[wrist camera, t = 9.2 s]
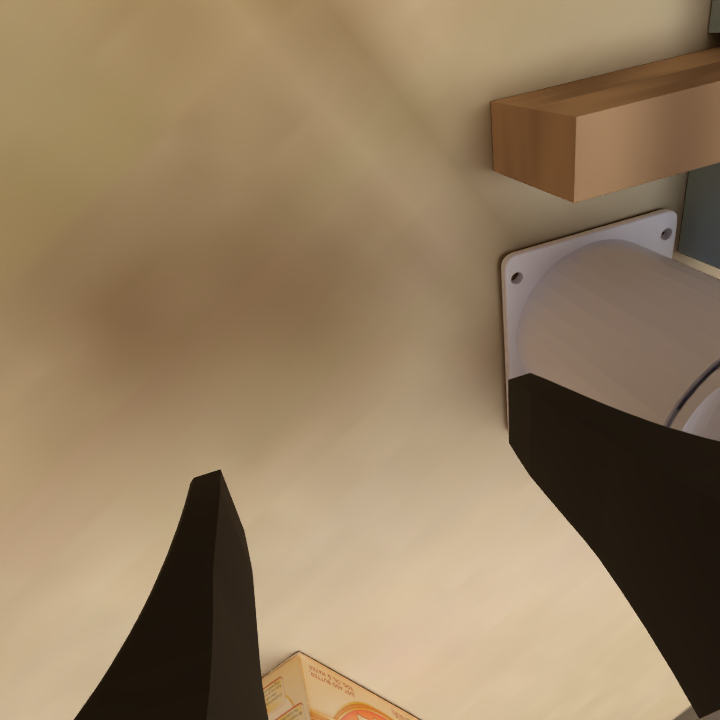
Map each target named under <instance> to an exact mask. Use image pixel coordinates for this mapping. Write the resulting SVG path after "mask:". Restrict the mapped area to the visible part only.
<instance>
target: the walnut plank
mask: <svg viewBox="0 0 720 720" xmlns="http://www.w3.org/2000/svg"><path fill="white" fill-rule="evenodd" d="M491 119H492V141H493V163H494V171H495V172H498V173H500V174H503V175H505V176H508V177H510V178H513V179H515V180H518V181H520V182H523V183H525V184H528V185H530V186H533V187H535V188H538V189H540V190H543V191H545V192H548V193H550V194H553V195H555V196H558V197H560V198H563V199H566V200H568V201H571V202H573V203H575V202H579V201H582V200H586V199H590V198H593V197H597V196H600V195H604V194H608V193H611V192H615V191H618V190H622V189H626V188H629V187H633V186H636V185H640V184H644V183H647V182H651V181H654V180H658V179H662V178H665V177H669V176H672V175H676V174H680V173H683V172H687V171H690V170H694V169H698V168H701V167H705V166H708V165H712V164H716V163H719V162H720V46H719V47H715V48H711V49H707V50H702V51H698V52H694V53H690V54H686V55H682V56H678V57H673V58H669V59H665V60H661V61H657V62H653V63H649V64H644V65H640V66H636V67H632V68H628V69H624V70H620V71H615V72H611V73H607V74H603V75H599V76H595V77H591V78H586V79H582V80H578V81H574V82H570V83H566V84H562V85H557V86H553V87H549V88H545V89H541V90H537V91H533V92H529V93H524V94H520V95H516V96H512V97H508V98H504V99H500V100H495V101H491Z"/></svg>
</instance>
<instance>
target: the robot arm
mask: <svg viewBox="0 0 720 720" xmlns="http://www.w3.org/2000/svg"><path fill="white" fill-rule="evenodd" d="M676 226H677V214H676V212H674V211H672V210H669V209H662V210H658V211H655V212H651V213H648V214H644V215H641V216H637V217H634V218H630V219H627V220H623V221H620V222H616V223H613V224H609V225H606V226H602V227H599V228H596V229H592V230H589V231H585V232H582V233H578V234H575V235H571V236H568V237H564V238H561V239H557V240H554V241H550V242H547V243H543V244H540V245H536V246H533V247H529V248H526V249H522V250H519V251H515V252H512V253H510V254H508V255H507V256H506V257H505V258H504V259H503V261H502V265H501V276H502V299H503V323H504V346H505V370H506V393H507V417H508V431H509V444H510V445H511V447H512V448H513V450H514V452H515V453H516V455H517V457H518V458H519V460H520V461H521V463H522V464H523V466H524V467H525V469H526V470H527V472H528V473H529V475H530V476H531V478H532V479H533V480H534V481H535V482H536V484H537V485H538V486H539V487H540V488H541V490H542V491H543V492H544V493H545V494H546V496H547V497H548V498H549V499H550V500H551V502H552V503H553V504H554V505H555V506H556V507H557V509H558V510H559V511H560V512H561V513H562V514H563V516H564V517H565V518H566V519H567V520H568V521H569V523H570V524H571V525H572V526H573V527H574V528H575V530H576V531H577V532H578V533H579V534H580V535H581V537H582V538H583V539H584V540H585V541H586V543H587V544H588V545H589V546H590V548H591V549H592V550H593V551H594V553H595V554H596V555H597V557H598V558H599V559H600V561H601V562H602V564H603V565H604V566H605V568H606V569H607V571H608V572H609V574H610V575H611V577H612V578H613V580H614V581H615V582H616V584H617V585H618V587H619V588H620V590H621V591H622V593H623V594H624V596H625V597H626V599H627V600H628V602H629V603H630V605H631V606H632V608H633V609H634V611H635V613H636V614H637V616H638V617H639V619H640V620H641V622H642V623H643V625H644V626H645V628H646V629H647V631H648V633H649V634H650V636H651V638H652V639H653V641H654V643H655V644H656V646H657V647H658V649H659V651H660V652H661V654H662V656H663V657H664V659H665V660H666V662H667V664H668V665H669V667H670V669H671V670H672V672H673V674H674V675H675V677H676V679H677V681H678V682H679V684H680V686H681V688H682V689H683V691H684V693H685V695H686V696H687V698H688V700H689V701H690V703H691V705H692V707H693V708H694V710H695V712H696V714H697V715H698V717H699V719H698V720H720V280H719V279H717V278H715V277H712V276H710V275H708V274H705V273H703V272H701V271H698V270H696V269H694V268H691V267H689V266H687V265H684V264H682V263H680V262H678V261H675V260H673V259H672V257H673V249H674V241H675V234H676ZM664 230H665V232H664V234H663V235H662V236H661V234H662V232H663V231H664ZM516 272H518V276H517V277H516V279H515V280H513V281H511V278H512V276H513V274H515V273H516ZM74 720H268V714H267V708H266V703H265V697H264V691H263V685H262V677H261V669H260V659H259V646H258V634H257V621H256V608H255V596H254V584H253V573H252V567H251V562H250V557H249V552H248V547H247V542H246V537H245V532H244V529H243V526H242V524H241V521H240V519H239V516H238V513H237V511H236V508H235V506H234V503H233V500H232V498H231V495H230V493H229V490H228V487H227V485H226V482H225V480H224V477H223V474H222V472H221V470H217V471H214V472H211V473H208V474H205V475H201V476H198V477H195V478H193V480H192V482H191V483H190V487H189V491H188V495H187V498H186V502H185V505H184V508H183V512H182V515H181V518H180V521H179V524H178V527H177V530H176V532H175V535H174V538H173V540H172V543H171V546H170V548H169V551H168V554H167V556H166V559H165V561H164V564H163V566H162V568H161V570H160V573H159V575H158V577H157V580H156V582H155V584H154V586H153V589H152V591H151V593H150V595H149V597H148V599H147V601H146V603H145V605H144V607H143V609H142V611H141V613H140V615H139V617H138V619H137V621H136V623H135V624H134V626H133V628H132V630H131V632H130V634H129V635H128V637H127V639H126V641H125V642H124V644H123V646H122V647H121V649H120V651H119V652H118V654H117V656H116V657H115V659H114V661H113V662H112V664H111V666H110V667H109V669H108V671H107V672H106V674H105V675H104V677H103V678H102V680H101V681H100V683H99V684H98V686H97V688H96V689H95V690H94V692H93V693H92V695H91V696H90V697H89V699H88V700H87V702H86V703H85V705H84V706H83V707H82V709H81V710H80V712H79V713H78V714H77V716H76V717H75V719H74Z"/></svg>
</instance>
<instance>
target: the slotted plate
mask: <svg viewBox="0 0 720 720" xmlns="http://www.w3.org/2000/svg"><path fill="white" fill-rule="evenodd" d="M708 33H720V0H712V8H711V15H710V22H709V29H708ZM678 252H680V253H682V254H684V255H687V256H689V257H692V258H694V259H697V260H699V261H701V262H704V263H706V264H709V265H711V266H714V267H716V268H718V269H720V162H719V163H716V164H712V165H708V166H705V167H701V168H698V169H694V170H690V171H689V175H688V182H687V190H686V197H685V204H684V211H683V219H682V226H681V233H680V241H679V248H678Z"/></svg>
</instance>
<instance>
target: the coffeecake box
mask: <svg viewBox="0 0 720 720" xmlns="http://www.w3.org/2000/svg"><path fill="white" fill-rule="evenodd" d="M262 685H263V691H264V697H265V703H266V708H267V714H268V720H419V719H417V718H415V717H413V716H412V715H410V714H408V713H406V712H405V711H403V710H401V709H399V708H398V707H396V706H394V705H392V704H390V703H389V702H387V701H385V700H383V699H382V698H380V697H378V696H376V695H375V694H373V693H371V692H369V691H367V690H366V689H364V688H362V687H360V686H359V685H357V684H355V683H353V682H352V681H350V680H348V679H346V678H344V677H343V676H341V675H339V674H337V673H336V672H334V671H332V670H330V669H329V668H327V667H325V666H323V665H322V664H320V663H318V662H316V661H315V660H313V659H311V658H309V657H308V656H306V655H304V654H302V653H301V652H297V653H296V654H294V655H293V656H291V657H290V658H288V659H287V660H285V661H284V662H283V663H281V664H280V665H279V666H277V667H276V668H275V669H273V670H272V671H270V672H269V673H268V674H267V675H266V676H265V677H263V678H262Z"/></svg>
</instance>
